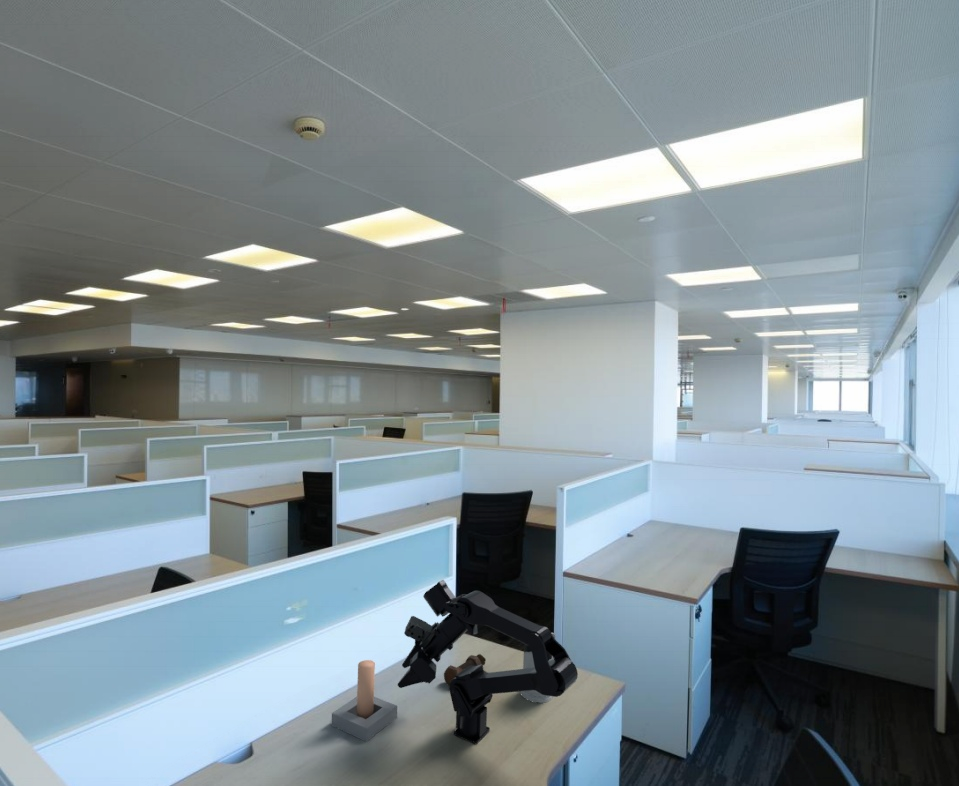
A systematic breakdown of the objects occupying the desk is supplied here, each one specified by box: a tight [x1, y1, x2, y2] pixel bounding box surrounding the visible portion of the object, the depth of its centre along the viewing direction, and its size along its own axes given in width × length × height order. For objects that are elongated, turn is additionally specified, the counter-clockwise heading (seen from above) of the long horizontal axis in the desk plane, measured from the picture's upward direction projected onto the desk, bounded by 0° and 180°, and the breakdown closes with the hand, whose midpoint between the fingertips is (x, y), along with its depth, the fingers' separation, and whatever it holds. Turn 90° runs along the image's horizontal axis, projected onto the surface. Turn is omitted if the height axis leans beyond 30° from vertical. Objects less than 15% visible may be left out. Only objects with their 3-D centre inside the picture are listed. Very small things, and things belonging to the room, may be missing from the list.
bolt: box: [443, 653, 486, 686], centre depth 159 cm, size 6×5×15 cm
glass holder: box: [520, 632, 556, 704], centre depth 152 cm, size 9×14×15 cm, turn 146°
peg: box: [356, 659, 376, 719], centre depth 135 cm, size 4×4×14 cm
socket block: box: [331, 696, 398, 742], centre depth 135 cm, size 11×11×3 cm
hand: (401, 676), depth 135 cm, fingers open, 9 cm apart
